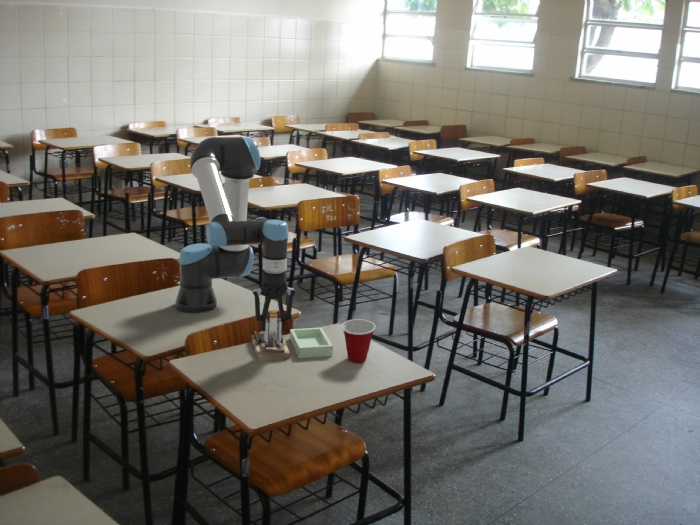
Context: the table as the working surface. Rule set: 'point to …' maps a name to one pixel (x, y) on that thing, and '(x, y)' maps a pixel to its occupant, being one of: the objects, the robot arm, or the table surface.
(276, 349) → the pulley block
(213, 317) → the table surface
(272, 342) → the glass bottle
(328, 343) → the tray
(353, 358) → the plastic cup
